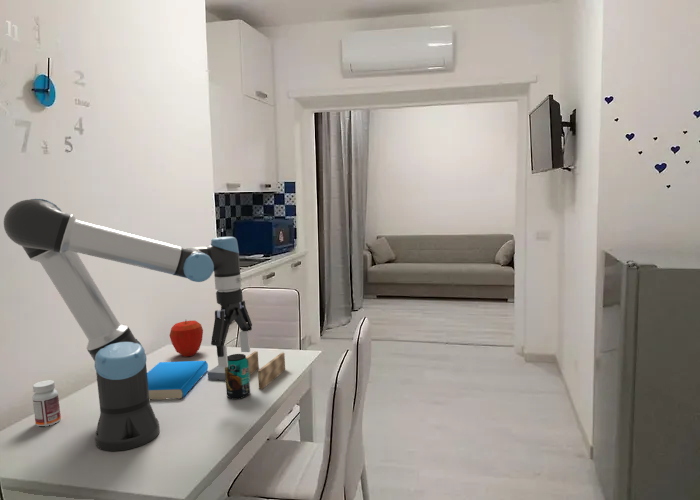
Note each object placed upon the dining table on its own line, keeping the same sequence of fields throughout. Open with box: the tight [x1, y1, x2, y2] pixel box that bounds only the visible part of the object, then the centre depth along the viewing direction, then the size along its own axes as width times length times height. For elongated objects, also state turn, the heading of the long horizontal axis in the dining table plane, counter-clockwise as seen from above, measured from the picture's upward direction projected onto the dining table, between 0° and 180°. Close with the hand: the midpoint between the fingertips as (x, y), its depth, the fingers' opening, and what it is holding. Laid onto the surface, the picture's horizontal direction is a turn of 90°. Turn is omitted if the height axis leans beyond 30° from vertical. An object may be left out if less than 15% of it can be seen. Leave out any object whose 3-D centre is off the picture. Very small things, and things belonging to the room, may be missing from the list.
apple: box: [169, 320, 204, 357], centre depth 202 cm, size 12×12×14 cm
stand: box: [207, 365, 226, 381], centre depth 179 cm, size 10×10×2 cm
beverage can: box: [225, 353, 251, 400], centre depth 160 cm, size 7×7×12 cm
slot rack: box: [246, 350, 286, 390], centre depth 174 cm, size 18×11×6 cm, turn 163°
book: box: [147, 360, 209, 400], centre depth 172 cm, size 17×4×25 cm
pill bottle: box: [32, 379, 62, 427], centre depth 147 cm, size 6×6×11 cm
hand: (235, 359), depth 159 cm, fingers open, 13 cm apart
